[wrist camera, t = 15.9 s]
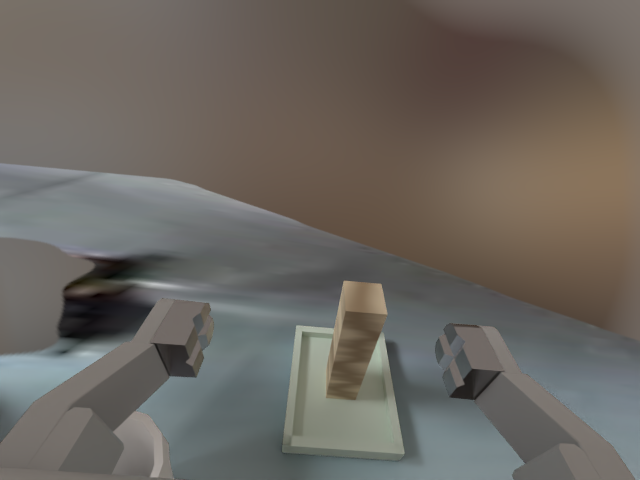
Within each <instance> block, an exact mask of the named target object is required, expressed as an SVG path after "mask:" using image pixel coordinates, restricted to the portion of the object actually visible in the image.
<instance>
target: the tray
mask: <svg viewBox="0 0 640 480" xmlns="http://www.w3.org/2000/svg"><path fill="white" fill-rule="evenodd" d="M333 332H334V329H333V328H321V327H309V326H297V325H296V334H295V342H294V350H293V359H292V367H291V375H290V384H289V392H288V400H287V409H286V417H285V426H284V434H283V442H282V453H293V454H307V455H321V456H335V457H349V458H363V459H377V460H391V461H399V460H400V459H401V458H402V457H403V455H404V454H405V453H404V447H403V442H402V436H401V430H400V424H399V419H398V413H397V407H396V401H395V396H394V390H393V384H392V378H391V373H390V367H389V361H388V355H387V350H386V344H385V338H384V333H380V336H379V338H378V341H377V344H376V346H375V349H374V352H373V354H372V357H371V360H370V363H369V365H368V368H367V371H366V373H365V376H364V379H363V381H362V384H361V387H360V389H359V392H358V395H357V397H356V400H346V399H333V398H326V367H327V362H328V357H329V352H330V347H331V342H332V337H333Z"/></svg>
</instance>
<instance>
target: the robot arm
mask: <svg viewBox="0 0 640 480" xmlns="http://www.w3.org/2000/svg"><path fill="white" fill-rule="evenodd" d="M210 311H211V308H210V305H209V303H202V302H193V301H184V300H175V299H164V298H162V299H160V300H159V301H158V302H157V303H156V304H155V306H154V308H153V309H152V311H151V312H150V314H149V315H148V317H147V318H146V320H145V321H144V323H143V324H142V326H141V327H140V329H139V330H138V332H137V333H136V335H135V337H134V338H133V340H132V341H131V342H125V343H123V344H122V345H120V346H119V347H117V348H116V349H114V350H113V351H111V352H109V353H108V354H106V355H105V356H103V357H102V358H100V359H99V360H97V361H96V362H94V363H93V364H91V365H90V366H88V367H87V368H85V369H84V370H82V371H80V372H79V373H77V374H76V375H74V376H73V377H71V378H70V379H68V380H67V381H65V382H64V383H62V384H61V385H59V386H58V387H56V388H54V389H53V390H51V391H50V392H48V393H47V394H45V395H44V396H42V397H41V398H39V399H38V400H36V401H35V402H33V404H32V405H31V406H30V407H29V408H28V410H27V411H26V412H25V413H24V415H23V416H22V417H21V418H20V419H19V421H18V422H17V423H16V424H15V426H14V427H13V428H12V429H11V431H10V432H9V433H8V434H7V435H6V437H5V438H4V439H3V440H2V442H1V443H0V480H185V479H171V478H156V477H141V476H126V475H112V473H113V471H114V468H115V466H116V464H117V462H118V460H119V458H120V456H121V454H122V452H123V450H124V445H123V442H122V441H121V440H120V439H119V438H118V437H117V436H116V435H115V434H114V433H113V431H114V430H116V429H117V428H118V427H119V426H120V425H121V424H122V423H123V422H124V421H125V420H126V419H127V418H128V417H129V416H130V415H131V414H132V413H133V412H134V411H135V410H136V409H137V408H138V407H140V406H141V405H142V404H143V403H144V402H145V401H146V400H147V399H148V398H149V397H150V396H151V395H152V394H153V393H154V392H155V391H156V390H157V389H158V388H159V387H160V386H161V385H163V384H164V383H165V382H166V381H167V380H168V379H169V376H177V377H197V374H198V372H199V369H200V367H201V364H202V362H203V359H204V356H203V353H202V351H203V350H204V349H205V348H207V347H208V346H209V344H210V341H211V339H212V334H213V330H214V322H213V318H212V317H211V316H210V315H209V313H210ZM443 330H444V332H445V334H444V335H442V336H440V337H439V338H438V340H437V342H436V347H435V353H436V359H437V362H438V365H439V366H440V367H441V368H442V369H443V370H444V371H445V372H444V374H443V377H442V378H443V381H444V384H445V387H446V390H447V393H448V396H449V397H452V398H461V399H470V400H475V401H474V402H475V403H476V404H477V405H478V407H479V408H480V409H481V410H482V412H483V413H484V414H485V415H486V416H487V418H488V419H489V420H490V421H491V422H492V424H493V425H494V426H495V427H496V429H497V430H498V431H499V432H500V433H501V435H502V436H503V437H504V438H505V439H506V441H507V442H508V443H509V444H510V446H511V447H512V448H513V449H514V450H515V452H516V453H517V454H518V455H519V456H520V458H521V459H522V460H523V461H524V462H525V464H524V465H523V466H521V467H519V468H518V469H516V470H514V472H513V474H512V476H513V479H514V480H635V478H634V477H633V475H632V474H631V472H630V471H629V469H628V468H627V466H626V465H625V464H624V462H623V461H622V459H621V458H620V456H619V455H618V453H617V452H616V450H615V449H614V447H613V446H612V445H611V444H610V443H608V442H607V441H606V440H605V439H604V438H602V437H601V436H600V435H599V434H598V433H597V432H595V431H594V430H593V429H592V428H591V427H589V426H588V425H587V424H586V423H585V422H583V421H582V420H581V419H580V418H579V417H577V416H576V415H575V414H574V413H573V412H571V411H570V410H569V409H568V408H567V407H565V406H564V405H563V404H562V403H561V402H560V401H558V400H557V399H556V398H555V397H554V396H552V395H551V394H550V393H549V392H548V391H546V390H545V389H544V388H543V387H542V386H540V385H539V384H538V383H537V382H536V381H534V380H533V379H532V378H531V377H530V376H529V375H527V374H522V372H521V370H520V369H519V367H518V365H517V363H516V362H515V360H514V358H513V356H512V355H511V353H510V351H509V349H508V348H507V346H506V344H505V342H504V341H503V339H502V337H501V335H500V334H499V332H498V330H497V329H496V328H494V327H489V326H477V325H468V324H453V323H449V324H447V325H446V326H445V328H444V329H443Z"/></svg>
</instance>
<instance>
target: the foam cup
mask: <svg viewBox="0 0 640 480" xmlns="http://www.w3.org/2000/svg"><path fill="white" fill-rule="evenodd" d="M113 433H114V434H115V435H116V436H117V437H118V438H119V439H120V440H121V441H122V442H123V445H124V450H123V452H122V454H121V456H120V458H119V460H118V462H117V464H116V466H115V468H114V471H113V473H112V475H126V476H141V477H156V478H171V479H174V477H173V473H172V468H171V464H170V457H169V443H168V442H167V440H166V439H165V437H164V436H163V434H162V433H161V431H160V430H159V429H158V427H157V426H156V424H155V423H154V422H153V420H152V419H151V417H150V416H149V415H148V414H144V413H141V412H138V411H134V412H133V413H132V414H131V415H130V416H129V417H128V418H127V419H126V420H125V421H124V422H123V423H122V424H121V425H120V426H119V427H118V428H117V429H116V430H114V431H113Z"/></svg>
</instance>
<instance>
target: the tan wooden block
mask: <svg viewBox="0 0 640 480" xmlns="http://www.w3.org/2000/svg"><path fill="white" fill-rule="evenodd" d="M386 317H387V310H386V305H385V300H384V295H383V290H382V285H381V284H375V283H363V282H352V281H344V283H343V288H342V293H341V298H340V303H339V308H338V313H337V318H336V323H335V328H334V332H333V337H332V342H331V347H330V352H329V357H328V362H327V367H326V398H333V399H346V400H356V397H357V395H358V392H359V389H360V387H361V384H362V381H363V379H364V376H365V373H366V371H367V368H368V365H369V363H370V360H371V357H372V354H373V352H374V349H375V346H376V344H377V341H378V338H379V336H380V333H381V330H382V328H383V325H384V322H385V320H386Z"/></svg>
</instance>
